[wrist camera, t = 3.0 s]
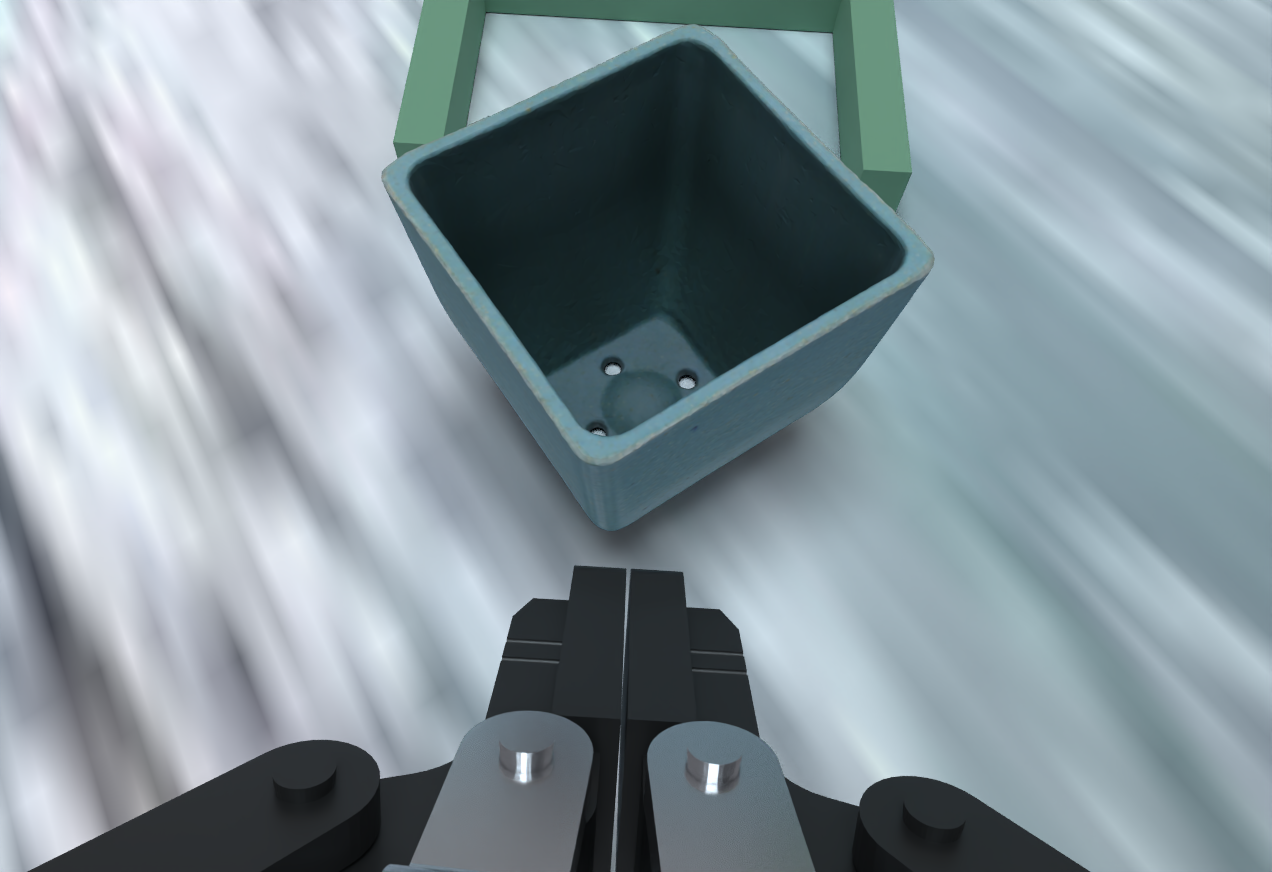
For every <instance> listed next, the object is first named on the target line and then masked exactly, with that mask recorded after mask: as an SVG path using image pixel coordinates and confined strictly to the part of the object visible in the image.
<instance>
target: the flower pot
mask: <svg viewBox="0 0 1272 872" xmlns="http://www.w3.org/2000/svg"><path fill="white" fill-rule="evenodd" d="M381 178H382V182H383V184H384V187H385V189H386V191H387V193H388V195H389V197H390V199H391V201H392V203H393V205H394V208H395V210H396V212H397V214H398V216H399V218H400V220H401V222H402V224H403V226H404V228H405V230H406V233H407V235H408V237H409V239H410V241H411V243H412V245H413V247H414V249H415V251H416V253H417V255H418V257H419V259H420V262H421V264H422V266H423V268H424V270H425V272H426V274H427V276H428V278H429V280H430V282H431V284H432V286H433V289H434V291H435V292H436V294H437V296H438V298H439V300H440V302H441V304H442V306H443V307H444V309H445V311H446V312H447V314H448V316H449V318H450V319H451V321H452V322H453V324H454V325H455V326H456V328H457V329H458V331H459V332H460V334H461V335H462V337H463V338H464V339H465V341H466V342H467V344H468V345H469V346H470V348H471V349H472V351H473V352H474V353H475V355H476V356H477V358H478V359H479V361H480V362H481V363H482V365H483V366H484V368H485V369H486V370H487V372H488V373H489V375H490V376H491V377H492V379H493V380H494V382H495V383H496V385H497V386H498V387H499V389H500V390H501V392H502V393H503V394H504V396H505V397H506V399H507V400H508V402H509V403H510V404H511V406H512V407H513V409H514V410H515V412H516V413H517V414H518V416H519V417H520V419H521V420H522V422H523V423H524V425H525V426H526V427H527V429H528V430H529V432H530V433H531V435H532V436H533V437H534V439H535V440H536V442H537V443H538V445H539V446H540V447H541V449H542V450H543V452H544V453H545V455H546V456H547V457H548V459H549V460H550V462H551V463H552V465H553V466H554V467H555V469H556V470H557V472H558V473H559V474H560V476H561V477H562V479H563V480H564V482H565V483H566V485H567V486H568V488H569V489H570V491H571V492H572V494H573V495H574V497H575V498H576V500H577V501H578V503H579V504H580V506H581V507H582V508H583V510H584V511H585V513H586V514H587V516H588V517H589V518H590V520H591V521H592V522H593V523H594V524H595V525H596V526H598V527H599V528H601V529H604V530H608V531H615V530H619V529H621V528H624V527H626V526H628V525H629V524H631V523H633V522H634V521H636V520H638V519H639V518H641V517H642V516H644V515H645V514H647V513H648V512H650V511H652V510H653V509H655V508H656V507H658V506H659V505H661V504H663V503H664V502H666V501H667V500H669V499H670V498H672V497H674V496H675V495H677V494H678V493H680V492H682V491H683V490H685V489H686V488H688V487H690V486H691V485H693V484H694V483H696V482H698V481H699V480H701V479H702V478H704V477H705V476H707V475H709V474H710V473H712V472H713V471H715V470H717V469H718V468H720V467H721V466H723V465H725V464H726V463H728V462H730V461H731V460H733V459H735V458H736V457H738V456H739V455H741V454H743V453H744V452H746V451H747V450H749V449H751V448H752V447H754V446H755V445H757V444H759V443H760V442H762V441H763V440H765V439H767V438H768V437H770V436H772V435H773V434H775V433H776V432H778V431H780V430H781V429H783V428H784V427H786V426H788V425H789V424H791V423H792V422H794V421H796V420H798V419H799V418H801V417H803V416H804V415H806V414H807V413H809V412H811V411H812V410H814V409H815V408H817V407H818V406H819V405H821V404H822V403H823V402H825V401H826V400H828V399H829V398H830V397H832V396H833V395H834V394H835V393H836V392H837V391H839V390H840V389H841V388H842V387H843V386H844V385H845V384H846V383H847V382H848V381H849V380H850V379H851V378H852V377H853V376H854V374H855V373H856V372H857V371H858V370H859V368H860V367H861V366H862V365H863V363H864V362H865V361H866V359H867V358H868V357H869V355H870V354H871V353H872V351H873V350H874V349H875V347H876V346H877V344H878V343H879V342H880V340H881V339H882V338H883V336H884V335H885V334H886V332H887V331H888V329H889V328H890V327H891V325H892V324H893V323H894V321H895V320H896V318H897V317H898V316H899V314H900V313H901V312H902V310H903V309H904V307H905V306H906V305H907V303H908V302H909V300H910V299H911V298H912V296H913V294H914V293H915V292H916V290H917V289H918V287H919V286H920V285H921V283H922V282H923V281H924V279H925V278H926V277H927V275H928V274H929V272H930V271H931V269H932V267H933V265H934V259H935V258H934V255H933V252H932V251H931V250H930V248H929V247H928V246H927V245H926V244H925V242H924V241H923V240H922V239H921V238H920V237H919V236H918V234H916V232H915V230H913V229H912V228H911V227H910V226H908V225H907V224H906V223H905V222H904V221H903V220H902V219H901V218H900V217H899V216H898V215H897V214H896V213H895V211H894V210H893V209H892V208H891V207H889V206H888V205H887V204H886V203H885V202H884V201H883V200H882V199H881V198H880V197H879V196H878V195H877V194H876V193H875V192H874V191H873V190H871V189H870V188H869V187H868V186H867V185H866V184H865V183H863V182H862V181H861V180H860V179H859V178H858V176H857V175H856V174H855V173H853V172H852V171H851V170H850V169H849V168H848V167H846V166H845V165H844V163H843V162H842V161H841V160H840V159H839V158H838V157H837V156H836V155H835V154H834V153H833V152H832V151H831V150H830V149H828V148H827V147H826V146H825V145H824V143H823V142H821V141H820V140H819V139H818V137H817V136H816V135H814V134H813V133H812V132H811V131H810V130H809V129H808V128H807V126H805V125H804V124H803V123H802V122H801V121H800V120H799V119H798V118H797V117H796V116H795V115H794V114H793V113H792V112H791V111H790V110H789V109H788V108H787V107H786V106H785V105H784V104H783V103H782V102H781V101H780V100H779V99H778V98H777V97H776V96H775V95H774V94H773V93H772V92H771V91H770V90H769V89H768V88H767V87H766V86H765V85H764V84H763V83H762V82H761V81H760V80H759V79H758V78H757V77H756V76H755V75H754V74H753V73H752V72H751V71H750V70H749V69H748V68H747V67H746V66H745V65H744V64H743V63H742V62H741V61H740V60H739V59H738V58H737V56H736V55H735V54H734V53H733V52H732V51H731V50H730V49H729V48H728V46H727V45H726V44H725V43H724V42H723V41H722V40H721V39H720V38H718V37H717V36H716V35H714V34H713V33H711V32H710V31H708V30H706V29H705V28H703V27H701V26H699V25H696V24H689V25H685V26H681V27H679V28H676V29H674V30H672V31H669V32H667V33H664V34H662V35H660V36H657V37H656V38H654V39H652V40H650V41H648V42H645V43H643V44H641V45H639V46H637V47H635V48H632V49H630V50H629V51H626V52H624V53H622V54H620V55H618V56H616V57H614V58H612V59H610V60H607V61H606V62H604V63H602V64H599V65H597V66H596V67H594V68H591V69H589V70H587V71H585V72H582V73H581V74H579V75H576V76H575V77H573V78H570V79H567V80H565V81H563V82H561V83H560V84H558V85H555V86H553V87H550V88H548V89H546V90H544V91H541V92H540V93H538V94H536V95H534V96H532V97H530V98H528V99H526V100H524V101H521V102H519V103H517V104H515V105H514V106H512V107H509V108H507V109H504V110H502V111H500V112H498V113H496V114H494V115H492V116H487V117H486V118H483V119H481V120H480V121H477V122H475V123H472V124H470V125H468V126H467V127H464V128H461V129H459V130H457V131H456V132H453V133H450V134H448V135H446V136H444V137H441V138H439V139H437V140H434V141H431V142H429V143H427V144H424V145H422V146H420V147H418V148H416V149H414V150H411V151H409V152H406V153H405V154H404V155H402V156H401V157H399V158H398V159H396V160H395V161H394V162H392V163H391V164H390V165H388V166H387V167H386V168H385V169H384V170H383V171H382V177H381ZM610 362H616V363H618V364H619V365H620V366H621V372H620V373H619V374H617V375H608V374H606V373H605V370H604V368H605V366H606V364H608V363H610ZM684 375H690V376H692V377H693V378H694V379H695V381H696V385H695V386H694V387H693V388H691V389H685V388H682V387H681V386H680V385H679V382H678V381H679V379H680V377H681V376H684ZM596 427H599V428H602V429H603V430H604V431H605V432H606V436H601V435H596V434H593V433H591V432H590V430H592V429H593V428H596Z"/></svg>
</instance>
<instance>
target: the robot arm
mask: <svg viewBox="0 0 1272 872" xmlns="http://www.w3.org/2000/svg"><path fill="white" fill-rule="evenodd" d="M625 593H626V569H624V568H608V567H592V566H574V571H573V577H572V584H571V590H570V597H569V600H554V599H537V598H533V599H532V600H531V601H530V602H528V603H527V604H526V605H525V606H524V607H523V608H522V609H520V610H519V611H518V612H517V613H516V614H515V615H514V616H513V618H512V621H511V625H510V629H509V633H508V636H507V642H506V644H505V648H504V651H503V655H502V661H501V663H500V666H499V670H498V674H497V678H496V681H495V685H494V689H493V693H492V696H491V700H490V704H489V708H488V712H487V715H486V719H485V720H484V721H482V722H480V723H479V724H477V725H476V726H475V727H473V728H472V729H471V730H470V731H469V732H468V733H467V734H466V735H465V736H464V738H463V740H462V742H461V744H460V746H459V748H458V751H457V753H456V756H455V758H454V760H453V761H451V762H449V763H447V764H445V765H442V766H440V767H437V768H434V769H431V770H428V771H423V772H419V773H414V774H408V775H402V776H396V777H390V778H383V779H380V771H379V768H378V765H377V763H376V762H375V760H374V759H373V757H372V756H370V755H369V754H368V753H367V752H366V751H364V750H362V749H361V748H359V747H357V746H354V745H351V744H349V743H345V742H340V741H333V740H310V741H301V742H297V743H292V744H288V745H285V746H282V747H278V748H276V749H273V750H271V751H269V752H267V753H264V754H262V755H260V756H258V757H256V758H254V759H252V760H250V761H248V762H246V763H244V764H242V765H240V766H238V767H236V768H234V769H232V770H230V771H228V772H226V773H224V774H222V775H220V776H218V777H216V778H214V779H212V780H210V781H208V782H206V783H204V784H202V785H200V786H198V787H196V788H194V789H192V790H190V791H188V792H186V793H184V794H182V795H180V796H178V797H176V798H174V799H172V800H170V801H168V802H166V803H164V804H162V805H160V806H158V807H156V808H154V809H152V810H150V811H148V812H146V813H144V814H142V815H140V816H138V817H136V818H134V819H132V820H130V821H128V822H126V823H124V824H122V825H120V826H118V827H116V828H114V829H112V830H110V831H108V832H106V833H104V834H102V835H100V836H98V837H96V838H94V839H92V840H90V841H88V842H86V843H84V844H82V845H80V846H78V847H76V848H74V849H72V850H70V851H68V852H66V853H64V854H62V855H60V856H58V857H56V858H54V859H52V860H50V861H48V862H46V863H44V864H42V865H40V866H38V867H36V868H34V869H32V870H30V871H28V872H610V869H611V854H612V840H613V826H614V811H615V797H616V783H617V768H618V754H619V740H620V758H619V786H618V814H617V842H616V870H615V872H1090V871H1088V870H1087V869H1085V868H1084V867H1082V866H1081V865H1079V864H1077V863H1076V862H1074V861H1073V860H1071V859H1070V858H1068V857H1067V856H1065V855H1063V854H1062V853H1060V852H1059V851H1057V850H1056V849H1054V848H1053V847H1051V846H1049V845H1048V844H1046V843H1045V842H1043V841H1042V840H1040V839H1039V838H1037V837H1036V836H1034V835H1032V834H1031V833H1029V832H1028V831H1026V830H1025V829H1023V828H1022V827H1020V826H1018V825H1017V824H1015V823H1014V822H1012V821H1011V820H1009V819H1008V818H1006V817H1005V816H1003V815H1001V814H1000V813H998V812H997V811H995V810H994V809H992V808H991V807H989V806H987V805H986V804H984V803H983V802H981V801H980V800H978V799H977V798H975V797H974V796H972V795H970V794H968V793H967V792H965V791H963V790H961V789H959V788H957V787H954V786H952V785H950V784H947V783H944V782H941V781H938V780H933V779H929V778H924V777H916V776H899V777H891V778H887V779H883V780H881V781H879V782H876V783H874V784H873V785H872V786H870V787H869V788H868V789H867V790H866V791H865V792H864V794H863V796H862V798H861V800H860V805H859V806H855V805H852V804H848V803H845V802H841V801H838V800H834V799H831V798H827V797H824V796H821V795H818V794H815V793H812V792H810V791H808V790H806V789H803V788H801V787H800V786H798V785H796V784H794V783H793V782H791V781H789V780H788V779H787V778H785V777H784V775H783V772H782V769H781V766H780V763H779V761H778V758H777V756H776V754H775V753H774V752H773V750H772V749H771V747H769V746H768V745H767V744H766V743H765V742H764V741H763V740H762V739H760V737H759V732H758V727H757V721H756V716H755V711H754V706H753V701H752V696H751V690H750V685H749V680H748V675H746V673H747V670H746V665H745V659H744V657H743V649H742V644H741V639H740V634H739V629H738V628H737V627H736V626H735V625H734V624H733V623H732V622H731V621H730V620H729V619H728V618H727V617H726V616H725V615H724V614H723V612H722V611H721V610H720V609H704V608H688V607H686V598H685V587H684V576H683V572H675V571H659V570H643V569H631V573H630V585H629V599H628V614H627V628H626V643H625V657H624V671H623V648H624V620H625ZM622 676H623V687H622ZM621 704H622V706H621ZM620 725H621V731H620Z"/></svg>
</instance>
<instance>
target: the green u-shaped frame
mask: <svg viewBox="0 0 1272 872" xmlns="http://www.w3.org/2000/svg"><path fill="white" fill-rule="evenodd" d="M486 12H496V13H513V14H530V15H547V16H564V17H581V18H598V19H614V20H631V21H648V22H665V23H682V24H699V25H716V26H733V27H750V28H767V29H784V30H801V31H817V32H833V45H834V61H835V76H836V92H837V107H838V122H839V138H840V153H841V161H842V162H843V163H844V165H845V166H846V167H848V168H849V169H850V170H851V171H852V172H853V173H855V174H856V175H857V176H858V178H859V179H860V180H861V181H862V182H863V183H865V184H866V185H867V186H868V187H869V188H870V189H871V190H873V191H874V192H875V193H876V194H877V195H878V196H879V197H880V198H881V199H882V200H883V201H884V202H885V203H886V204H887V205H888V206H889V207H891V208H892V209H893V210H894V211H895V212H896V210H897V207H898V205H899V202H900V200H901V198H902V195H903V193H904V190H905V188H906V186H907V183H908V181H909V178H910V176H911V174H912V168H911V159H910V150H909V140H908V131H907V122H906V113H905V104H904V94H903V85H902V76H901V67H900V57H899V48H898V39H897V30H896V20H895V11H894V2H893V0H424V2H423V7H422V12H421V16H420V21H419V25H418V30H417V35H416V39H415V44H414V48H413V53H412V58H411V62H410V67H409V72H408V76H407V81H406V85H405V90H404V95H403V99H402V104H401V108H400V113H399V118H398V122H397V127H396V131H395V136H394V141H393V144H394V147H395V151H396V154H397V158H399V157H401V156H402V155H404V154H405V153H406V152H409V151H411V150H414V149H416V148H418V147H420V146H422V145H424V144H427V143H429V142H431V141H434V140H437V139H439V138H441V137H444V136H446V135H448V134H450V133H453V132H456V131H457V130H459V129H461V128H464V127H466V124H467V119H468V113H469V107H470V101H471V95H472V90H473V84H474V78H475V72H476V66H477V61H478V55H479V49H480V43H481V37H482V32H483V26H484V20H485V14H486Z"/></svg>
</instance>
